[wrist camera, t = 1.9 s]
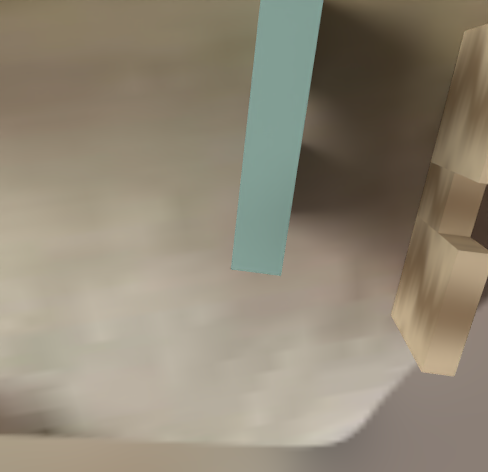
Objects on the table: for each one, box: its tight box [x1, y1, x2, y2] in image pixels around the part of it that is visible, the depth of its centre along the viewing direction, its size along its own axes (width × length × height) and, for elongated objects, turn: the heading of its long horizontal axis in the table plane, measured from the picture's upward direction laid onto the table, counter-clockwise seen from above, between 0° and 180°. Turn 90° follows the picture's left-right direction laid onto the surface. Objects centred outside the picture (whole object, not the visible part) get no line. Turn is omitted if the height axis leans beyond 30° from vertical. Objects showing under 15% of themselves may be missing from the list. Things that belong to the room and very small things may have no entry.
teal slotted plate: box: [231, 0, 323, 276], centre depth 23 cm, size 2×14×11 cm, turn 174°
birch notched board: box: [391, 24, 488, 376], centre depth 26 cm, size 20×2×7 cm, turn 174°
